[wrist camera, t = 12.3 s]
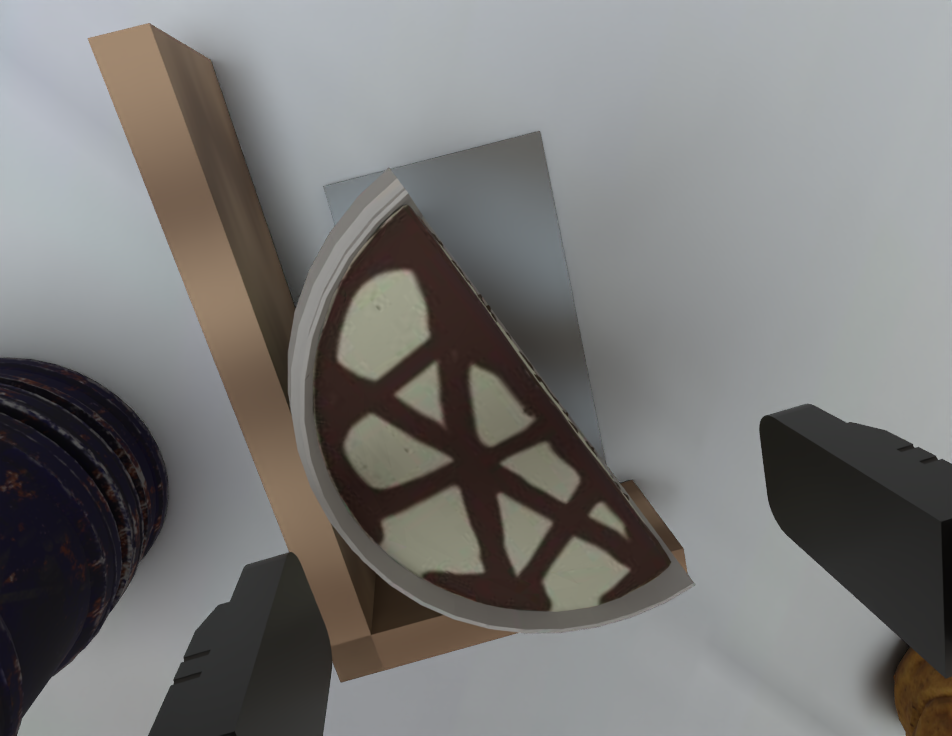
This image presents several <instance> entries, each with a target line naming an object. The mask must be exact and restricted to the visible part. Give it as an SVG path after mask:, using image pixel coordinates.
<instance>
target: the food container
mask: <svg viewBox="0 0 952 736" xmlns="http://www.w3.org/2000/svg"><path fill="white" fill-rule="evenodd" d="M288 396H289V402H290V408H291V414H292V420H293V426H294V432H295V438H296V444H297V450H298V453H299V456H300V459H301V462H302V464H303V467H304V470H305V473H306V476H307V479H308V482H309V484H310V487H311V489H312V491H313V493H314V495H315V496H316V498H317V500H318V502H319V504H320V505H321V507H322V509H323V511H324V513H325V514H326V516H327V518H328V520H329V522H330V523H331V524H332V525H333V527H334V528H335V529H336V530H337V532H338V533H339V534H340V535H341V537H342V538H343V539H344V540H345V542H346V543H347V544H348V545H349V547H350V548H351V549H352V550H353V551H354V552H355V553H356V554H357V555H358V556H359V557H360V558H361V560H362V561H363V562H364V563H366V564H367V565H368V566H369V567H370V568H371V569H372V570H373V571H375V572H376V573H377V574H378V575H379V576H380V577H381V578H382V579H384V580H385V581H386V582H387V583H388V584H389V585H390V586H392V587H394V588H395V589H397V590H398V591H400V592H401V593H403V594H405V595H406V596H408V597H409V598H411V599H412V600H414V601H416V602H417V603H419V604H420V605H422V606H425V607H427V608H429V609H431V610H434V611H436V612H438V613H441V614H443V615H445V616H447V617H450V618H452V619H454V620H458V621H462V622H465V623H469V624H473V625H477V626H480V627H484V628H488V629H494V630H502V631H510V632H519V633H563V632H569V631H576V630H582V629H589V628H596V627H600V626H603V625H607V624H610V623H614V622H617V621H621V620H624V619H628V618H631V617H634V616H636V615H638V614H641V613H643V612H645V611H648V610H650V609H652V608H654V607H657V606H659V605H661V604H664V603H666V602H668V601H669V600H671V599H673V598H675V597H676V596H678V595H680V594H681V593H683V592H685V591H686V590H688V589H690V588H692V587H693V586H695V584H694V582H693V581H692V579H691V578H690V577H689V575H688V574H687V573H686V571H685V570H684V569H683V567H682V566H681V565H680V563H679V562H678V561H677V559H676V558H675V557H674V555H673V554H672V553H671V551H670V550H669V549H668V547H667V546H666V544H665V543H664V542H663V540H662V539H661V538H660V536H659V535H658V534H657V532H656V531H655V530H654V528H653V527H652V526H651V524H650V523H649V522H648V520H647V519H646V518H645V516H644V515H643V514H642V512H641V511H640V509H639V508H638V507H637V505H636V504H635V503H634V501H633V500H632V499H631V497H630V496H629V495H628V493H627V492H626V491H625V489H624V488H623V487H622V485H621V484H620V483H619V481H618V480H617V479H616V477H615V476H614V474H613V473H612V472H611V470H610V469H609V468H608V466H607V465H606V464H605V462H604V461H603V460H602V458H601V457H600V456H599V454H598V453H597V452H596V450H595V449H594V447H593V446H592V445H591V444H590V442H589V441H588V439H587V438H586V437H585V435H584V434H583V433H582V431H581V430H580V429H579V427H578V426H577V425H576V423H575V422H574V421H573V419H572V418H571V417H570V415H569V414H568V412H567V411H566V410H565V408H564V407H563V406H562V404H561V403H560V402H559V400H558V399H557V398H556V396H555V395H554V394H553V392H552V391H551V389H550V388H549V387H548V385H547V384H546V383H545V381H544V380H543V379H542V377H541V376H540V374H539V373H538V372H537V370H536V369H535V368H534V366H533V365H532V364H531V362H530V361H529V359H528V358H527V357H526V355H525V354H524V353H523V351H522V350H521V349H520V347H519V346H518V344H517V343H516V342H515V340H514V339H513V338H512V336H511V335H510V334H509V332H508V331H507V330H506V328H505V327H504V325H503V324H502V323H501V321H500V320H499V319H498V317H497V316H496V315H495V313H494V312H493V310H492V309H491V307H490V306H489V305H488V304H487V302H486V301H485V300H484V298H483V297H482V295H481V294H480V293H479V291H478V290H477V289H476V287H475V286H474V285H473V283H472V282H471V280H470V279H469V278H468V276H467V275H466V274H465V272H464V271H463V270H462V268H461V267H460V266H459V264H458V263H457V261H456V260H455V259H454V257H453V256H452V255H451V253H450V252H449V251H448V249H447V248H446V246H445V245H444V244H443V242H442V241H441V240H440V238H439V237H438V236H437V234H436V233H435V231H434V230H433V229H432V227H431V226H430V225H429V223H428V222H427V221H426V219H425V218H424V216H423V215H422V214H421V212H420V210H419V209H418V207H417V206H416V204H415V203H414V201H413V200H412V198H411V197H410V195H409V194H408V192H407V191H406V189H405V188H404V187H403V186H402V184H401V183H400V182H399V180H398V179H397V177H396V176H395V175H394V174H393V172H392V171H391V170H390V168H388V169H387V170H386V171H385V172H384V173H383V174H382V175H381V176H379V177H378V178H377V179H376V180H375V181H374V182H373V183H372V184H371V185H370V186H369V187H368V188H367V189H366V190H364V191H363V192H362V193H361V194H360V195H359V196H358V197H357V198H356V200H355V201H354V202H353V203H352V205H351V206H350V207H349V209H348V210H347V211H346V212H345V214H344V215H343V216H342V218H341V219H340V220H339V221H338V223H337V224H336V225H335V226H334V228H333V229H332V230H331V232H330V233H329V235H328V237H327V239H326V240H325V242H324V244H323V246H322V248H321V250H320V251H319V253H318V255H317V257H316V259H315V261H314V262H313V264H312V266H311V268H310V270H309V272H308V275H307V278H306V281H305V284H304V286H303V289H302V292H301V295H300V298H299V301H298V304H297V306H296V309H295V313H294V319H293V325H292V331H291V337H290V343H289V349H288Z"/></svg>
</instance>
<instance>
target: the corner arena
mask: <svg viewBox="0 0 952 736" xmlns="http://www.w3.org/2000/svg"><path fill="white" fill-rule="evenodd" d="M88 40H89V43H90V46H91V48H92V51H93V53H94V56H95V58H96V61H97V63H98V66H99V68H100V71H101V74H102V76H103V79H104V81H105V84H106V86H107V89H108V91H109V94H110V97H111V99H112V102H113V104H114V107H115V109H116V112H117V114H118V117H119V119H120V122H121V125H122V127H123V130H124V132H125V135H126V137H127V140H128V142H129V145H130V147H131V150H132V153H133V155H134V158H135V160H136V163H137V165H138V168H139V170H140V173H141V175H142V178H143V181H144V183H145V186H146V188H147V191H148V193H149V196H150V198H151V201H152V203H153V206H154V209H155V211H156V214H157V216H158V219H159V221H160V224H161V226H162V229H163V231H164V234H165V237H166V239H167V242H168V244H169V247H170V249H171V252H172V254H173V257H174V259H175V262H176V265H177V267H178V270H179V272H180V275H181V277H182V280H183V282H184V285H185V287H186V290H187V293H188V295H189V298H190V300H191V303H192V305H193V308H194V310H195V313H196V315H197V318H198V321H199V323H200V326H201V328H202V331H203V333H204V336H205V338H206V341H207V344H208V346H209V349H210V351H211V354H212V356H213V359H214V361H215V364H216V366H217V369H218V372H219V374H220V377H221V379H222V382H223V384H224V387H225V389H226V392H227V394H228V397H229V400H230V402H231V405H232V407H233V410H234V412H235V415H236V417H237V420H238V422H239V425H240V428H241V430H242V433H243V435H244V438H245V440H246V443H247V445H248V448H249V450H250V453H251V456H252V458H253V461H254V463H255V466H256V468H257V471H258V473H259V476H260V478H261V481H262V484H263V486H264V489H265V491H266V494H267V496H268V499H269V501H270V504H271V506H272V509H273V512H274V514H275V517H276V519H277V522H278V524H279V527H280V529H281V532H282V534H283V537H284V540H285V542H286V545H287V547H288V550H289V552H293V553H294V554H295V555H296V556H297V557H298V559H299V561H300V563H301V565H302V567H303V570H304V572H305V575H306V578H307V580H308V583H309V585H310V588H311V590H312V593H313V595H314V598H315V600H316V603H317V605H318V608H319V610H320V613H321V615H322V618H323V620H324V623H325V625H326V628H327V631H328V635H329V639H330V644H331V651H332V662H333V664H334V667H335V669H336V672H337V675H338V677H339V680H340V682H345V681H348V680H352V679H355V678H359V677H362V676H366V675H370V674H373V673H377V672H380V671H384V670H387V669H391V668H395V667H398V666H402V665H405V664H409V663H412V662H416V661H420V660H423V659H427V658H430V657H434V656H437V655H441V654H445V653H448V652H452V651H455V650H459V649H462V648H466V647H470V646H473V645H477V644H480V643H484V642H487V641H491V640H495V639H498V638H502V637H505V636H509V635H512V634H516V633H519V632H510V631H502V630H494V629H488V628H484V627H480V626H477V625H473V624H469V623H465V622H462V621H458V620H454V619H452V618H450V617H447V616H445V615H443V614H441V613H438V612H436V611H434V610H431V609H429V608H427V607H425V606H422V605H420V604H419V603H417V602H416V601H414V600H412V599H411V598H409V597H408V596H406V595H405V594H403V593H401V592H400V591H398V590H397V589H395V588H394V587H392V586H390V585H389V584H388V583H387V582H386V581H385V580H384V579H382V578H381V577H380V576H379V575H378V574H377V573H376V572H375V571H373V570H372V569H371V568H370V567H369V566H368V565H367V564H366V563H364V562H363V561H362V560H361V558H360V557H359V556H358V555H357V554H356V553H355V552H354V551H353V550H352V549H351V548H350V547H349V545H348V544H347V543H346V542H345V540H344V539H343V538H342V537H341V535H340V534H339V533H338V532H337V530H336V529H335V528H334V527H333V525H332V524H331V523H330V522H329V520H328V518H327V516H326V514H325V513H324V511H323V509H322V507H321V505H320V504H319V502H318V500H317V498H316V496H315V495H314V493H313V491H312V489H311V487H310V484H309V482H308V479H307V476H306V473H305V470H304V467H303V464H302V462H301V459H300V456H299V453H298V450H297V444H296V438H295V432H294V426H293V420H292V414H291V408H290V402H289V396H288V349H289V343H290V337H291V331H292V325H293V319H294V313H295V306H294V303H293V300H292V297H291V294H290V291H289V288H288V285H287V282H286V279H285V277H284V274H283V271H282V268H281V265H280V262H279V259H278V256H277V253H276V250H275V247H274V244H273V241H272V238H271V235H270V233H269V230H268V227H267V224H266V221H265V218H264V215H263V212H262V209H261V206H260V203H259V200H258V197H257V194H256V191H255V189H254V186H253V183H252V180H251V177H250V174H249V171H248V168H247V165H246V162H245V159H244V156H243V153H242V150H241V147H240V145H239V142H238V139H237V136H236V133H235V130H234V127H233V124H232V121H231V118H230V115H229V112H228V109H227V106H226V103H225V101H224V98H223V95H222V92H221V89H220V86H219V83H218V80H217V77H216V74H215V71H214V68H213V65H212V62H211V60H210V59H208V58H207V57H205V56H203V55H202V54H200V53H198V52H197V51H195V50H193V49H192V48H190V47H188V46H187V45H185V44H183V43H182V42H180V41H178V40H177V39H175V38H173V37H172V36H170V35H168V34H166V33H165V32H163V31H161V30H160V29H158V28H156V27H155V26H153V25H151V24H150V23H148V24H144V25H140V26H136V27H132V28H128V29H124V30H119V31H115V32H111V33H107V34H103V35H99V36H95V37H91V38H88ZM390 170H391V171H392V172H393V174H394V175H395V176H396V177H397V179H398V180H399V182H400V183H401V184H402V186H403V187H404V188H405V189H406V191H407V192H408V194H409V195H410V197H411V198H412V200H413V201H414V203H415V204H416V206H417V207H418V209H419V210H420V212H421V214H422V215H423V216H424V218H425V219H426V221H427V222H428V223H429V225H430V226H431V227H432V229H433V230H434V231H435V233H436V234H437V236H438V237H439V238H440V240H441V241H442V242H443V244H444V245H445V246H446V248H447V249H448V251H449V252H450V253H451V255H452V256H453V257H454V259H455V260H456V261H457V263H458V264H459V266H460V267H461V268H462V270H463V271H464V272H465V274H466V275H467V276H468V278H469V279H470V280H471V282H472V283H473V285H474V286H475V287H476V289H477V290H478V291H479V293H480V294H481V295H482V297H483V298H484V300H485V301H486V302H487V304H488V305H489V306H490V307H491V309H492V310H493V312H494V313H495V315H496V316H497V317H498V319H499V320H500V321H501V323H502V324H503V325H504V327H505V328H506V330H507V331H508V332H509V334H510V335H511V336H512V338H513V339H514V340H515V342H516V343H517V344H518V346H519V347H520V349H521V350H522V351H523V353H524V354H525V355H526V357H527V358H528V359H529V361H530V362H531V364H532V365H533V366H534V368H535V369H536V370H537V372H538V373H539V374H540V376H541V377H542V379H543V380H544V381H545V383H546V384H547V385H548V387H549V388H550V389H551V391H552V392H553V394H554V395H555V396H556V398H557V399H558V400H559V402H560V403H561V404H562V406H563V407H564V408H565V410H566V411H567V412H568V414H569V415H570V417H571V418H572V419H573V421H574V422H575V423H576V425H577V426H578V427H579V429H580V430H581V431H582V433H583V434H584V435H585V437H586V438H587V439H588V441H589V442H590V444H591V445H592V446H593V447H594V449H595V450H596V452H597V453H598V454H599V456H600V457H601V458H602V460H603V461H604V462H605V464H606V461H605V456H604V451H603V446H602V441H601V436H600V431H599V426H598V421H597V416H596V411H595V406H594V401H593V396H592V391H591V386H590V381H589V376H588V370H587V365H586V360H585V355H584V350H583V345H582V340H581V335H580V330H579V325H578V320H577V315H576V310H575V305H574V300H573V295H572V290H571V285H570V280H569V275H568V270H567V265H566V260H565V255H564V250H563V245H562V240H561V235H560V229H559V224H558V219H557V214H556V209H555V204H554V199H553V194H552V189H551V184H550V179H549V174H548V169H547V164H546V159H545V154H544V149H543V144H542V139H541V134H540V131H538V132H534V133H530V134H526V135H522V136H518V137H514V138H510V139H507V140H503V141H499V142H495V143H491V144H487V145H483V146H479V147H475V148H471V149H468V150H464V151H460V152H456V153H452V154H448V155H444V156H440V157H436V158H432V159H429V160H425V161H421V162H417V163H413V164H409V165H405V166H401V167H397V168H393V169H390ZM384 172H385V171H382V172H378V173H374V174H370V175H366V176H362V177H358V178H354V179H351V180H347V181H343V182H339V183H335V184H331V185H327V186H323V187H324V190H325V194H326V197H327V200H328V203H329V207H330V210H331V213H332V216H333V220H334V223H335V225H336V224H337V223H338V221H339V220H340V219H341V218H342V216H343V215H344V214H345V212H346V211H347V210H348V209H349V207H350V206H351V205H352V203H353V202H354V201H355V200H356V198H357V197H358V196H359V195H360V194H361V193H362V192H363V191H364V190H366V189H367V188H368V187H369V186H370V185H371V184H372V183H373V182H374V181H375V180H376V179H377V178H378V177H379V176H381V175H382V174H383V173H384ZM620 484H621V485H622V487H623V488H624V489H625V491H626V492H627V493H628V495H629V496H630V497H631V499H632V500H633V501H634V503H635V504H636V505H637V507H638V508H639V509H640V511H641V512H642V514H643V515H644V516H645V518H646V519H647V520H648V522H649V523H650V524H651V526H652V527H653V528H654V530H655V531H656V532H657V534H658V535H659V536H660V538H661V539H662V540H663V542H664V543H665V544H666V546H667V547H668V549H669V550H670V551H671V553H672V554H673V555H674V557H675V558H676V559H677V561H678V562H679V563H680V565H681V566H682V567H683V569H684V570H685V571H686V573H687V567H686V561H685V555H684V549H683V547H682V546H681V544H680V543H679V542H678V540H677V539H676V538H675V536H674V535H673V534H672V532H671V531H670V530H669V528H668V527H667V526H666V524H665V523H664V522H663V520H662V519H661V518H660V516H659V515H658V514H657V512H656V511H655V510H654V508H653V507H652V506H651V504H650V503H649V502H648V500H647V499H646V498H645V496H644V495H643V493H642V492H641V491H640V489H639V488H638V487H637V485H636V484H635V483H634V481H633V480H630V481H627V482H623V483H620ZM687 574H688V573H687Z"/></svg>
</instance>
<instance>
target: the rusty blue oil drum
mask: <svg viewBox="0 0 952 736" xmlns="http://www.w3.org/2000/svg"><path fill="white" fill-rule="evenodd" d="M167 504H168V479H167V474H166V469H165V465H164V461H163V459H162V456H161V454H160V451H159V449H158V446H157V444H156V442H155V441H154V439H153V437H152V435H151V434H150V432H149V430H148V429H147V427H146V426H145V425H144V423H143V422H142V421H141V420H140V419H139V417H138V416H137V415H136V414H135V412H134V411H133V410H132V409H131V408H130V407H128V406H127V405H126V404H125V403H124V402H123V401H122V400H121V399H120V398H119V397H117V396H116V395H115V394H113V393H112V392H110V391H109V390H108V389H106V388H105V387H103V386H102V385H100V384H99V383H97V382H95V381H93V380H91V379H89V378H87V377H85V376H83V375H81V374H79V373H77V372H75V371H72V370H69V369H66V368H64V367H61V366H58V365H55V364H51V363H46V362H41V361H36V360H31V359H18V358H0V736H17V734H18V730H19V727H20V724H21V720H22V718H23V716H24V715H25V713H26V712H27V711H28V709H29V708H30V706H31V705H32V703H33V702H34V701H35V699H36V698H37V696H38V695H39V694H40V692H41V691H42V689H43V688H44V687H45V685H46V684H47V682H48V681H49V680H50V678H51V677H52V676H54V675H55V674H57V673H58V672H59V671H60V670H62V669H63V668H64V667H65V666H67V665H68V664H69V663H70V662H72V661H73V659H74V658H75V657H76V656H77V655H78V654H79V653H80V652H81V651H82V650H83V649H85V647H86V646H87V645H88V644H89V643H90V642H91V640H92V639H93V638H94V637H95V636H96V635H97V633H98V632H99V630H100V628H101V627H102V625H103V623H104V621H105V620H106V618H107V616H108V614H109V613H110V612H111V611H112V610H113V608H114V606H115V605H116V604H117V602H118V601H119V599H120V598H121V596H122V595H123V593H124V592H125V590H126V589H127V587H128V585H129V583H130V582H131V580H132V578H133V577H134V575H135V572H136V570H137V567H138V564H139V562H140V561H141V560H142V559H143V557H144V556H145V555H146V554H147V552H148V551H149V549H150V548H151V546H152V545H153V543H154V541H155V540H156V538H157V536H158V534H159V533H160V530H161V528H162V525H163V522H164V519H165V516H166V511H167Z"/></svg>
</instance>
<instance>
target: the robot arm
mask: <svg viewBox="0 0 952 736" xmlns="http://www.w3.org/2000/svg"><path fill="white" fill-rule="evenodd" d="M759 431H760V440H761V448H762V456H763V464H764V472H765V480H766V488H767V496H768V501H769V505H770V508H771V511H772V513H773V515H774V518H775V520H776V521H777V523H778V525H779V526H780V528H781V529H782V530H783V532H784V533H785V534H786V535H787V536H788V537H789V538H791V539H792V540H793V541H794V542H795V543H796V544H797V545H798V546H799V547H801V548H802V549H803V550H804V551H805V552H806V553H807V554H808V555H809V556H810V557H812V558H813V559H814V560H815V561H816V562H817V563H818V564H819V565H820V566H822V567H823V568H824V569H825V570H826V571H827V572H828V573H829V574H830V575H832V576H833V577H834V578H835V579H836V580H837V581H838V582H839V583H840V584H841V585H843V586H844V587H845V588H846V589H847V590H848V591H849V592H850V593H851V594H853V595H854V596H855V597H856V598H857V599H858V600H859V601H860V602H861V603H863V604H864V605H865V606H866V607H867V608H868V609H869V610H870V611H871V612H872V613H874V614H875V615H876V616H877V617H878V618H879V619H880V620H881V621H882V622H884V623H885V624H886V625H887V626H888V627H889V628H890V629H891V630H892V631H894V632H895V633H896V634H897V635H898V636H899V637H900V638H901V639H902V640H903V641H905V642H906V643H907V644H908V645H909V646H910V647H911V648H912V649H913V650H915V651H916V652H917V653H918V654H919V655H920V656H921V657H922V658H923V659H925V660H926V661H927V662H928V663H929V664H930V665H931V666H932V667H933V668H934V669H936V670H937V671H938V672H939V673H940V674H941V675H942V676H943V677H944V678H949V677H952V464H951V463H949V462H947V461H945V460H943V459H941V460H938V459H937V458H936V456H935V455H933V454H931V453H929V452H927V451H925V450H923V449H921V448H919V447H917V448H914V446H913V444H911V443H909V442H907V441H906V440H904V439H902V438H900V437H898V436H896V435H894V434H892V433H890V432H888V431H886V430H882V429H878V428H873V427H869V426H865V425H861V424H856V423H852V422H849V423H846V422H844V421H842V420H840V419H838V418H837V417H835V416H833V415H831V414H829V413H827V412H825V411H823V410H822V409H820V408H818V407H816V406H814V405H812V404H804V405H801V406H797V407H794V408H790V409H787V410H783V411H780V412H776V413H773V414H770V415H766V416H764V417H763V418H762V419H761V421H760V427H759ZM331 672H332V651H331V644H330V639H329V635H328V631H327V628H326V625H325V623H324V620H323V618H322V615H321V613H320V610H319V608H318V605H317V603H316V600H315V598H314V595H313V593H312V590H311V588H310V585H309V583H308V580H307V578H306V575H305V572H304V570H303V567H302V565H301V563H300V561H299V559H298V557H297V556H296V555H295V554H294V553H293V552H289V553H285V554H282V555H279V556H275V557H272V558H268V559H265V560H261V561H258V562H254V563H251V564H248V565H246V566H245V567H244V569H243V571H242V573H241V576H240V578H239V581H238V583H237V586H236V588H235V591H234V593H233V596H232V598H231V600H230V602H227V603H224V604H220V605H218V606H217V607H216V608H215V609H214V611H213V612H212V613H211V614H210V615H209V616H208V617H207V619H206V620H205V621H204V622H203V623H202V624H201V625H200V626H199V628H198V629H197V630H196V631H195V633H194V635H193V638H192V640H191V642H190V644H189V646H188V649H187V651H186V653H185V655H184V662H182V663H181V664H180V666H179V668H178V671H177V673H176V675H175V677H174V685H171V686H170V688H169V691H168V693H167V695H166V697H165V699H164V702H163V704H162V706H161V708H160V711H159V713H158V715H157V717H156V719H155V722H154V724H153V726H152V728H151V730H150V733H149V735H148V736H323V731H324V723H325V716H326V709H327V701H328V694H329V687H330V679H331Z"/></svg>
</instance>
